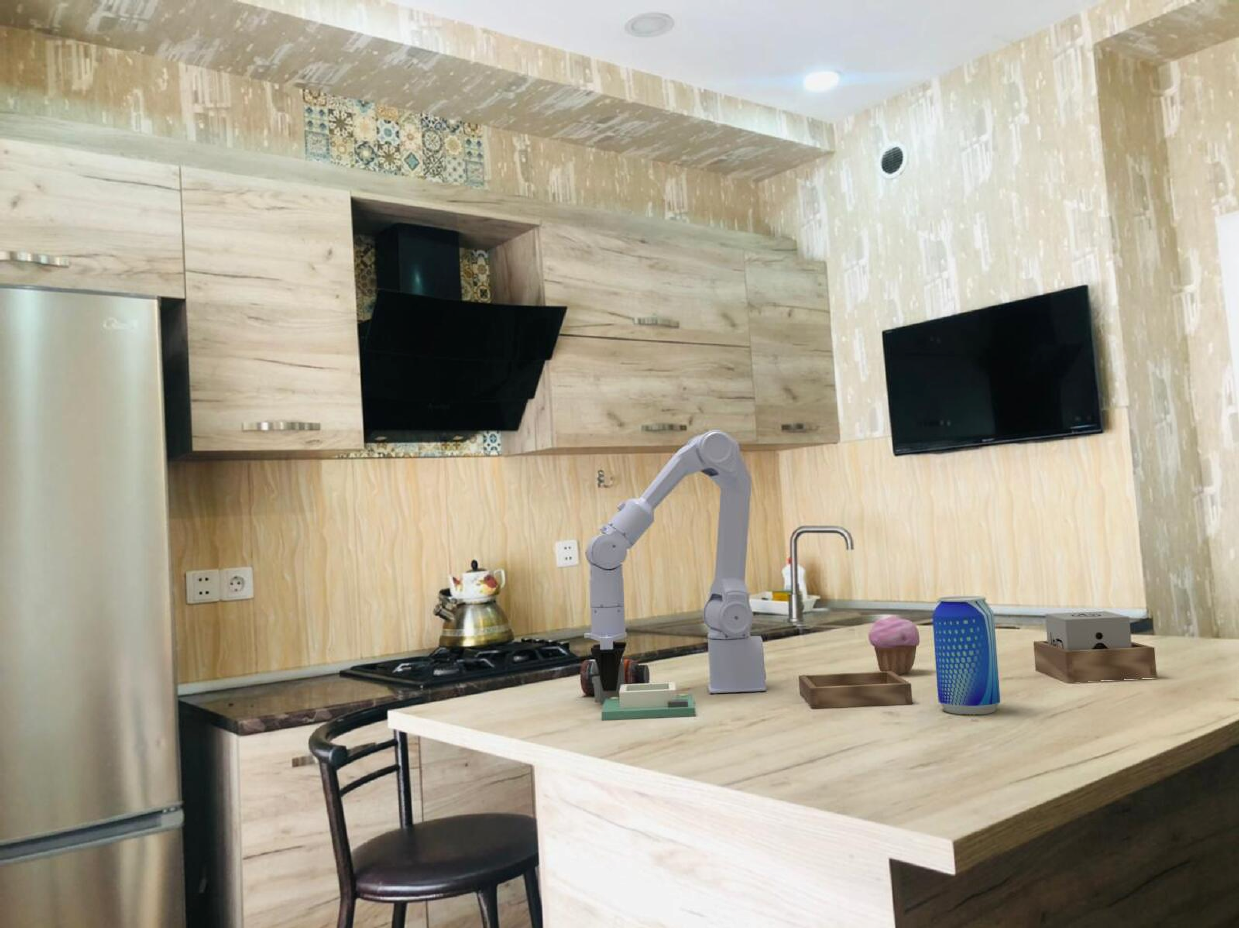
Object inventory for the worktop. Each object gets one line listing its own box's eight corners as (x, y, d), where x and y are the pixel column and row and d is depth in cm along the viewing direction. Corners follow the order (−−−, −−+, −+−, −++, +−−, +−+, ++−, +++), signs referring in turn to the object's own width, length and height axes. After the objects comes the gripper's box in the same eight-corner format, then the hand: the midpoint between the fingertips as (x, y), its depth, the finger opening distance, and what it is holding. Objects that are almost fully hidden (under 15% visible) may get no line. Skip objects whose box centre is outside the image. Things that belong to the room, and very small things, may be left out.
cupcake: (862, 672, 185) (859, 616, 185) (905, 668, 187) (902, 613, 187) (887, 679, 176) (883, 620, 176) (931, 674, 178) (927, 617, 179)
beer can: (1010, 707, 145) (1002, 595, 146) (986, 718, 139) (977, 600, 140) (954, 703, 151) (946, 595, 152) (928, 712, 145) (920, 600, 146)
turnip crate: (892, 689, 165) (891, 671, 165) (912, 704, 152) (911, 683, 152) (799, 694, 165) (798, 675, 166) (811, 708, 153) (810, 688, 153)
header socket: (675, 697, 162) (674, 682, 162) (676, 706, 154) (675, 690, 154) (621, 699, 162) (621, 684, 162) (620, 708, 154) (619, 692, 154)
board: (692, 701, 164) (692, 689, 164) (695, 716, 152) (694, 702, 152) (606, 705, 164) (605, 693, 164) (601, 720, 152) (601, 706, 152)
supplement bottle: (590, 678, 180) (652, 679, 178) (583, 701, 175) (647, 702, 173) (584, 652, 177) (647, 652, 175) (577, 674, 172) (642, 675, 170)
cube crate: (1117, 666, 176) (1115, 637, 176) (1157, 679, 162) (1154, 647, 162) (1035, 670, 176) (1033, 641, 177) (1067, 683, 162) (1065, 651, 163)
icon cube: (1049, 672, 174) (1045, 613, 175) (1110, 670, 173) (1105, 611, 174) (1070, 682, 164) (1065, 619, 165) (1134, 679, 163) (1129, 617, 164)
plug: (625, 698, 171) (623, 662, 171) (624, 702, 167) (623, 665, 167) (596, 699, 171) (594, 663, 171) (594, 703, 167) (592, 666, 167)
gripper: (586, 603, 177) (589, 682, 176) (580, 610, 163) (583, 696, 162) (626, 602, 177) (629, 681, 176) (624, 609, 163) (627, 695, 162)
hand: (610, 688), depth 169 cm, fingers closed on plug, 4 cm apart
